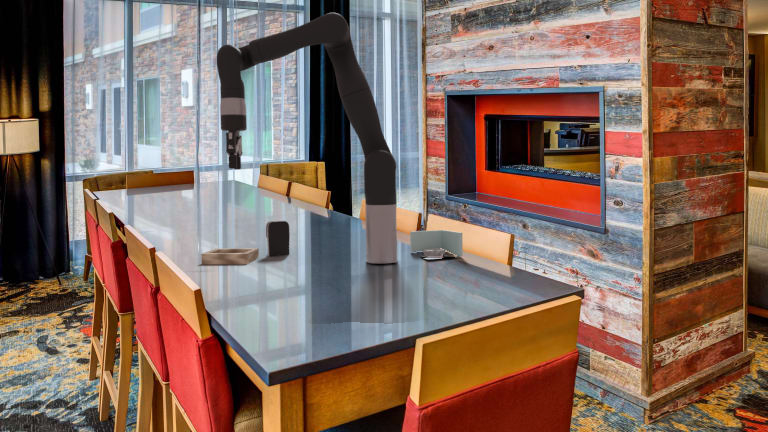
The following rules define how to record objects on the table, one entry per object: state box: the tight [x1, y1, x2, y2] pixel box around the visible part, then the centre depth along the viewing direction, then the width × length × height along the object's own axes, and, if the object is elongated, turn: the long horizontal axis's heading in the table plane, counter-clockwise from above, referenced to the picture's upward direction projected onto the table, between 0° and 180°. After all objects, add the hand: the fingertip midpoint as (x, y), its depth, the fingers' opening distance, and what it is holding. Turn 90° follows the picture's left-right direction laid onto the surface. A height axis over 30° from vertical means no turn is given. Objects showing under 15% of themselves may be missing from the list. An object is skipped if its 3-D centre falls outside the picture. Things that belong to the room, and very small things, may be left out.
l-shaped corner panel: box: [409, 229, 464, 260], centre depth 194 cm, size 12×12×8 cm
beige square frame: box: [200, 248, 260, 265], centre depth 185 cm, size 13×13×3 cm
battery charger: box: [265, 220, 290, 258], centre depth 194 cm, size 7×4×11 cm, turn 117°
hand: (235, 168), depth 186 cm, fingers open, 8 cm apart
